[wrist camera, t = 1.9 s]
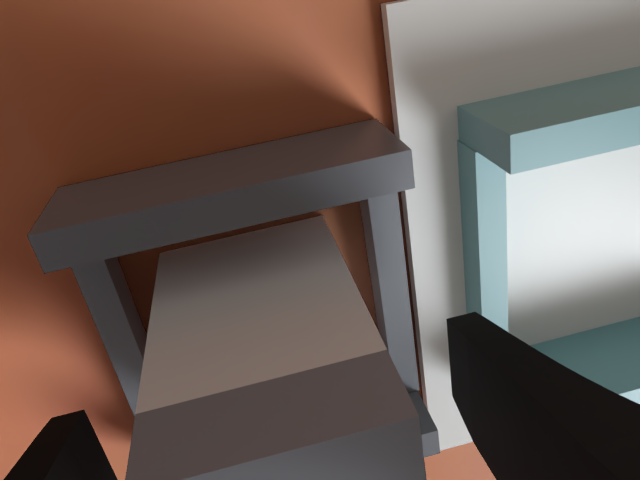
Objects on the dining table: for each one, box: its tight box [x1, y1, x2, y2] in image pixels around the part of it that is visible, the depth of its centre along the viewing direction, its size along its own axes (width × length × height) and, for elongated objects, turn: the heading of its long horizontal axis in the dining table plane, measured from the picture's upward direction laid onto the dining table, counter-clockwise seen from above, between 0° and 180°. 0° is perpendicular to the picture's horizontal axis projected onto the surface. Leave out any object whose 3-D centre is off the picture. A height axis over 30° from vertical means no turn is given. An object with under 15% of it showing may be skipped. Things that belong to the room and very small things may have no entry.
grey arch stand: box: [27, 119, 440, 457], centre depth 13 cm, size 7×8×2 cm
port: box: [381, 0, 640, 451], centre depth 14 cm, size 10×13×3 cm
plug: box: [125, 215, 426, 480], centre depth 12 cm, size 4×4×7 cm
